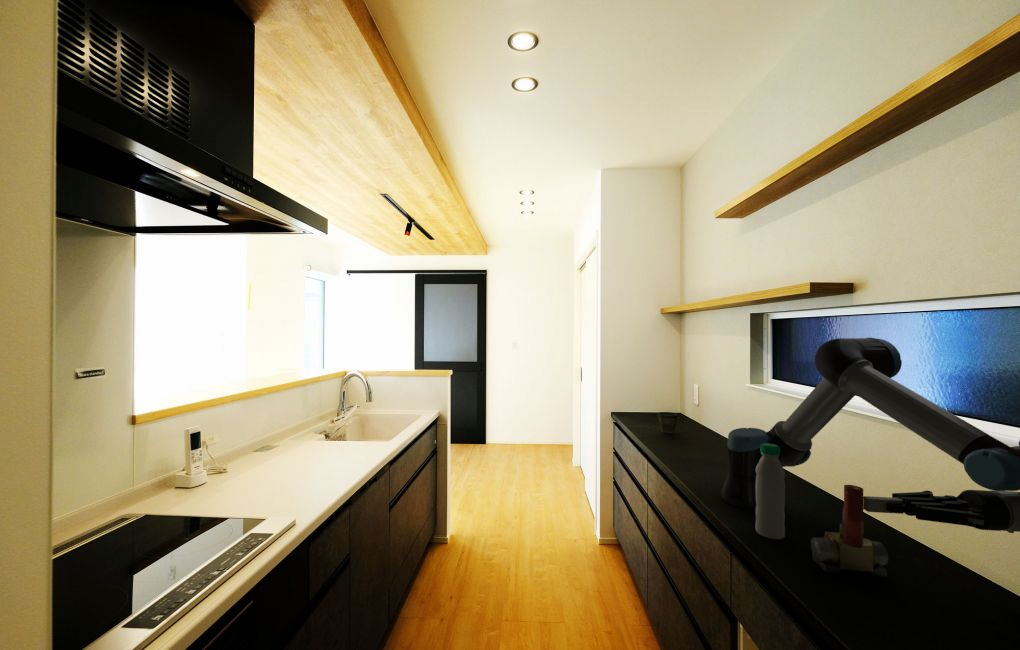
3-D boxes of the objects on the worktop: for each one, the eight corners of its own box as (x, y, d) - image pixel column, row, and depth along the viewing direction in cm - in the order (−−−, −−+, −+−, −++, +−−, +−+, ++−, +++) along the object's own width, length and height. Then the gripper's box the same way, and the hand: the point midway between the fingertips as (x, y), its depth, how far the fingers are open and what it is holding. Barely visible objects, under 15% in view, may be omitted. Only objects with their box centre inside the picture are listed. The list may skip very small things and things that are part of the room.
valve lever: (839, 521, 104) (839, 465, 104) (856, 525, 102) (856, 468, 102) (844, 553, 89) (844, 488, 90) (864, 558, 88) (864, 491, 88)
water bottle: (778, 529, 121) (778, 442, 121) (789, 541, 114) (789, 449, 114) (751, 527, 123) (751, 440, 123) (760, 539, 116) (760, 447, 116)
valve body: (823, 572, 100) (823, 530, 100) (809, 558, 106) (809, 518, 106) (889, 577, 98) (889, 534, 98) (871, 563, 104) (871, 522, 104)
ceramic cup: (655, 432, 232) (655, 414, 232) (662, 428, 240) (661, 411, 240) (679, 436, 224) (679, 417, 224) (685, 432, 231) (685, 414, 231)
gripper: (1029, 545, 79) (889, 537, 82) (964, 514, 92) (845, 508, 95) (1028, 505, 79) (889, 498, 82) (964, 480, 92) (845, 475, 95)
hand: (866, 503), depth 89 cm, fingers closed
